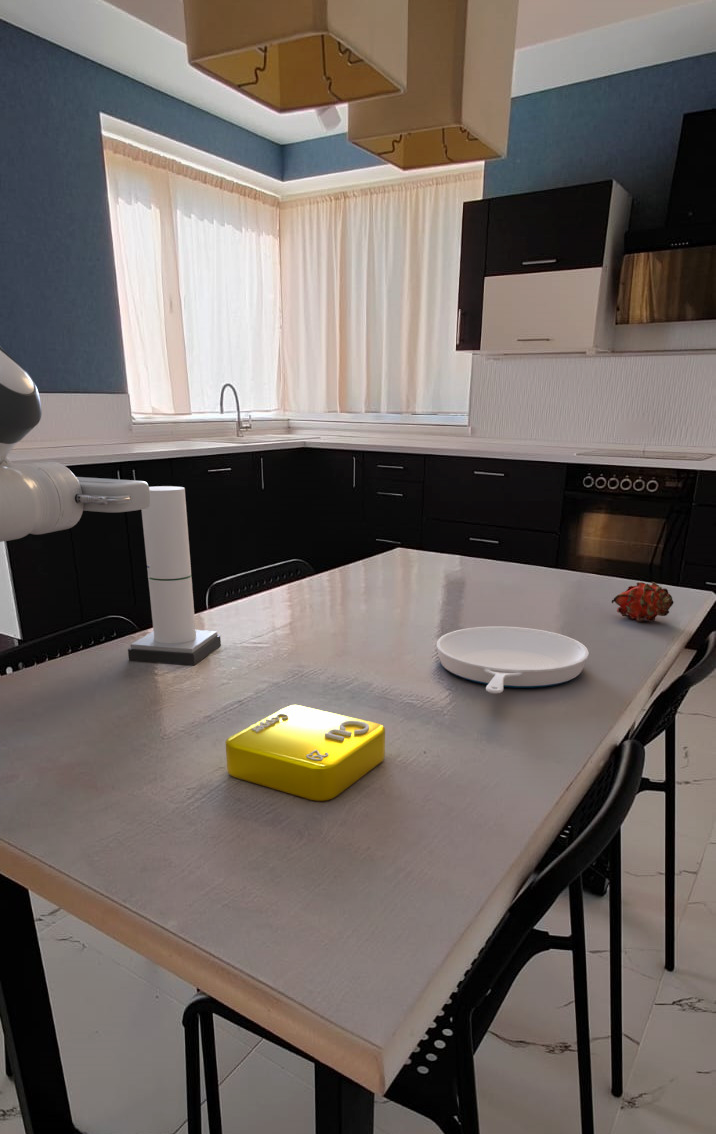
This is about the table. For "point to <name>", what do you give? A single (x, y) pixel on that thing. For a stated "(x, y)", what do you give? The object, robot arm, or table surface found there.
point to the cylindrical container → (169, 565)
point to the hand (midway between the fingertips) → (114, 487)
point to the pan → (511, 656)
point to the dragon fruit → (644, 601)
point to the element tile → (306, 752)
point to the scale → (175, 649)
